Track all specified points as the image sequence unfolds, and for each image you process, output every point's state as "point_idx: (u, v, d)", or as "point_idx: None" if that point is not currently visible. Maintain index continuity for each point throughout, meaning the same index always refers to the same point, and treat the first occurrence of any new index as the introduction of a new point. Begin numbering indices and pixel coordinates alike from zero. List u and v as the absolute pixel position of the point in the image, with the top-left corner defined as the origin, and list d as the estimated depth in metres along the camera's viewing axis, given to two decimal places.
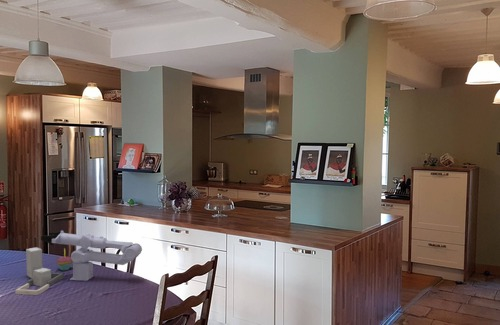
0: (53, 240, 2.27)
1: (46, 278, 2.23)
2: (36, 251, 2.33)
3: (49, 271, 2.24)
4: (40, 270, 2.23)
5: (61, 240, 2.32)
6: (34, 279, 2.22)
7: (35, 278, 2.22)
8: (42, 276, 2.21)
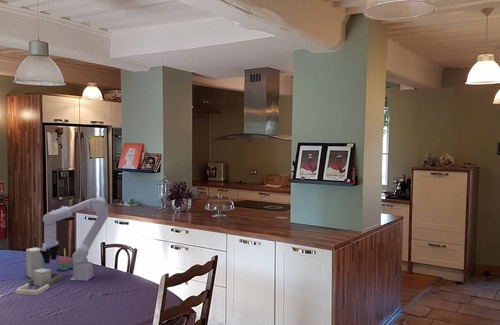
0: (42, 249, 2.24)
1: (46, 278, 2.23)
2: (36, 251, 2.33)
3: (49, 271, 2.24)
4: (40, 270, 2.23)
5: (48, 243, 2.28)
6: (34, 279, 2.22)
7: (35, 278, 2.22)
8: (42, 276, 2.21)
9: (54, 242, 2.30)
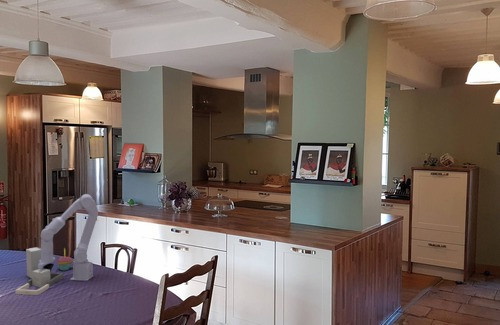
0: (39, 266, 2.21)
1: (45, 278, 2.22)
2: (36, 251, 2.33)
3: (48, 271, 2.23)
4: (39, 270, 2.22)
5: (45, 259, 2.25)
6: (33, 280, 2.21)
7: (34, 279, 2.21)
8: (41, 276, 2.20)
9: (51, 259, 2.27)
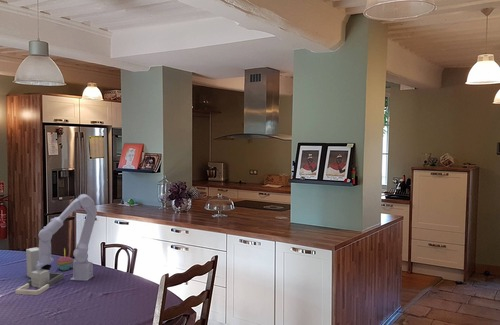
0: (37, 267, 2.19)
1: (45, 279, 2.21)
2: (36, 251, 2.33)
3: (47, 272, 2.22)
4: (38, 271, 2.20)
5: (43, 260, 2.23)
6: (32, 281, 2.20)
7: (33, 280, 2.19)
8: (40, 277, 2.18)
9: (49, 260, 2.25)
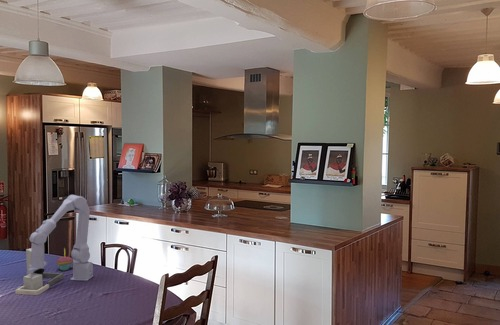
0: (29, 271, 2.11)
1: (37, 283, 2.13)
2: None
3: (40, 276, 2.15)
4: (31, 276, 2.13)
5: (35, 264, 2.16)
6: (25, 285, 2.12)
7: (26, 284, 2.12)
8: (33, 282, 2.11)
9: (42, 264, 2.17)
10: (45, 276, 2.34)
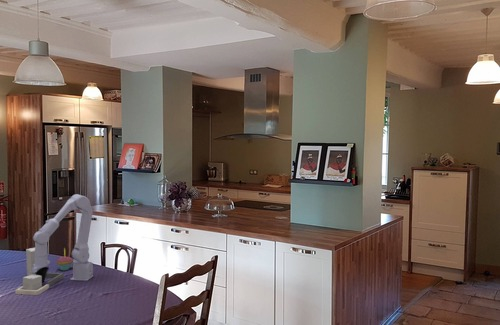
0: (33, 270, 2.14)
1: (37, 285, 2.12)
2: None
3: (40, 277, 2.14)
4: (30, 277, 2.12)
5: (39, 263, 2.19)
6: (24, 286, 2.11)
7: (25, 285, 2.11)
8: (32, 282, 2.10)
9: (45, 262, 2.21)
10: (45, 276, 2.34)
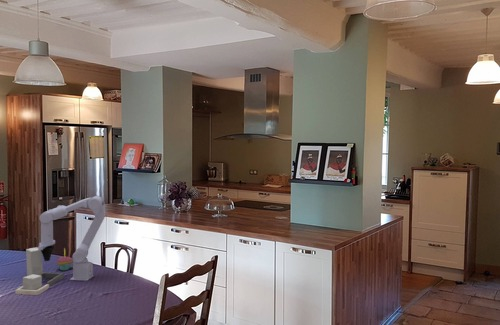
0: (39, 248, 2.24)
1: (37, 285, 2.12)
2: (36, 251, 2.33)
3: (40, 277, 2.14)
4: (30, 277, 2.12)
5: (45, 242, 2.28)
6: (24, 286, 2.11)
7: (25, 285, 2.11)
8: (32, 282, 2.10)
9: (51, 241, 2.30)
10: (45, 276, 2.34)
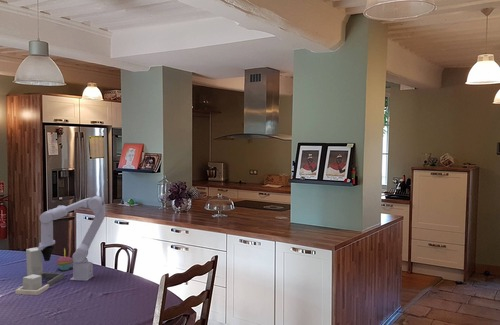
0: (39, 248, 2.24)
1: (37, 285, 2.12)
2: (36, 251, 2.33)
3: (40, 277, 2.14)
4: (30, 277, 2.12)
5: (45, 242, 2.28)
6: (24, 286, 2.11)
7: (25, 285, 2.11)
8: (32, 282, 2.10)
9: (51, 241, 2.30)
10: (45, 276, 2.34)
